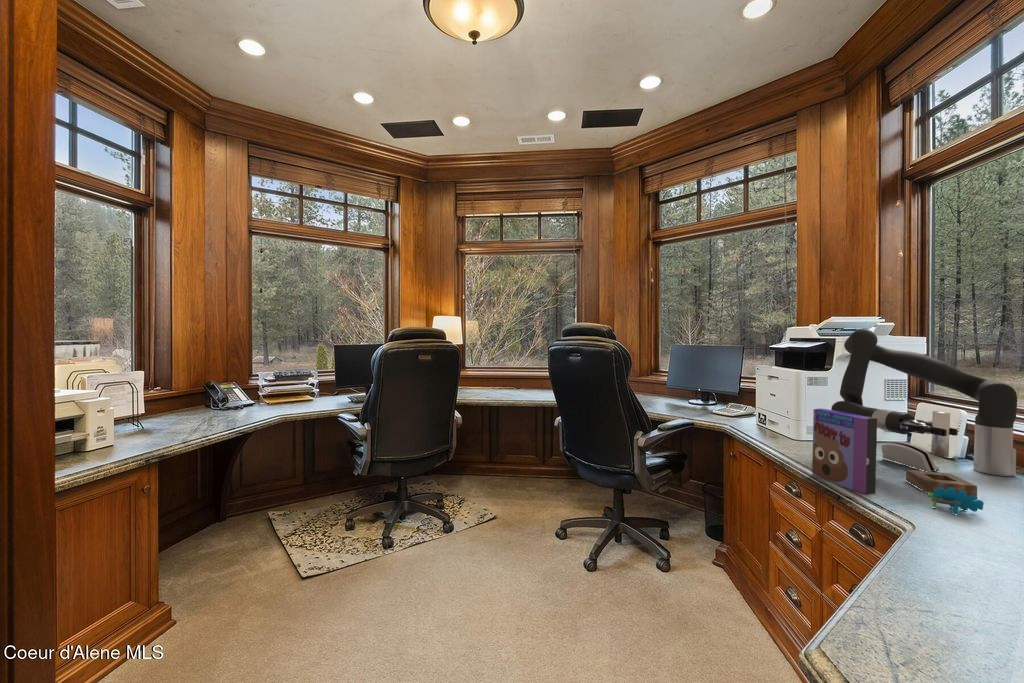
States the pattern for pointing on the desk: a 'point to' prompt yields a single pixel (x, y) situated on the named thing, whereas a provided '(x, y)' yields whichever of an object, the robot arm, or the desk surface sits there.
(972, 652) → the desk surface
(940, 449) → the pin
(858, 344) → the robot arm
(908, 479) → the socket block
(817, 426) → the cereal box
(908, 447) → the grey curved block
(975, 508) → the toy stegosaurus
